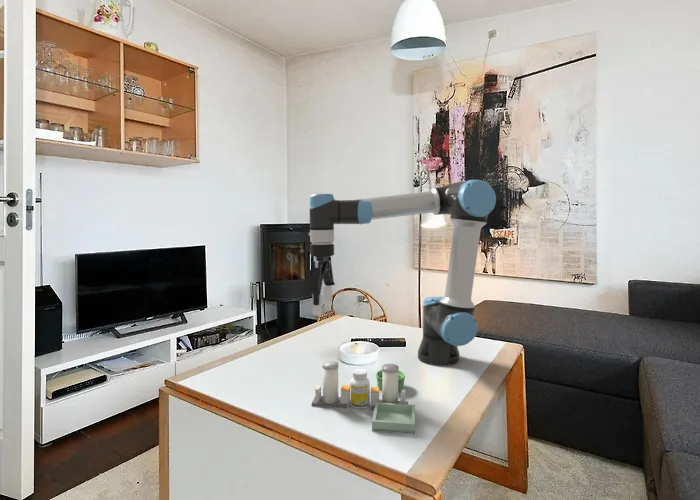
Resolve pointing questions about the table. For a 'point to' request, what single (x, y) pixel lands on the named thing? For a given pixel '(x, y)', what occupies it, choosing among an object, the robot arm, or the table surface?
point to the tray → (394, 418)
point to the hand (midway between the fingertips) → (322, 309)
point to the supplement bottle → (360, 389)
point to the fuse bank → (331, 388)
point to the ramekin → (400, 380)
